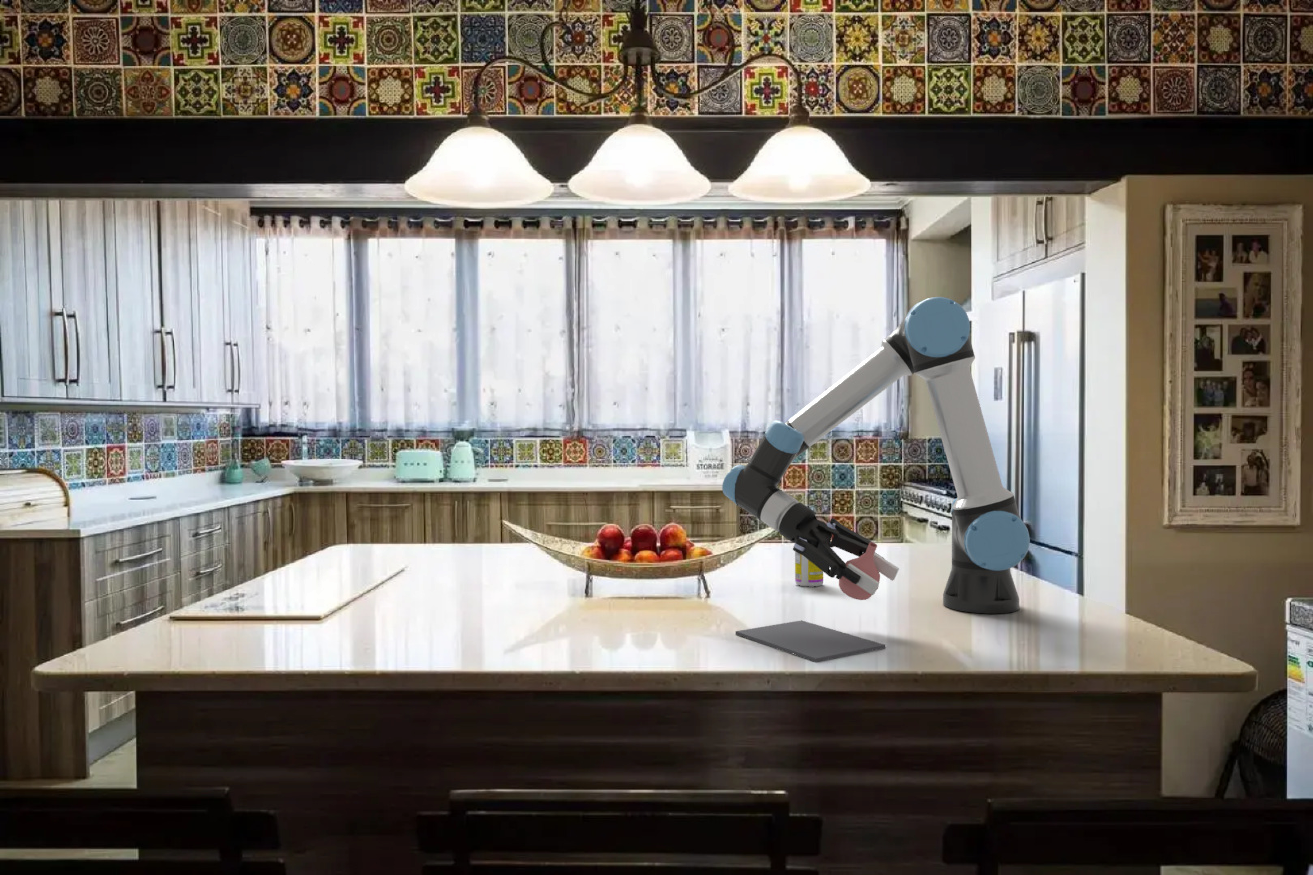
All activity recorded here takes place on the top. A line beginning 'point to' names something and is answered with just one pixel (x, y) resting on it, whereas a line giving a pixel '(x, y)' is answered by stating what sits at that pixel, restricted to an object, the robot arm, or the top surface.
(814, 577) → the supplement bottle
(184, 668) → the top surface
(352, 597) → the top surface
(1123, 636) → the top surface
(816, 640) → the mat
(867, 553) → the pink vase
